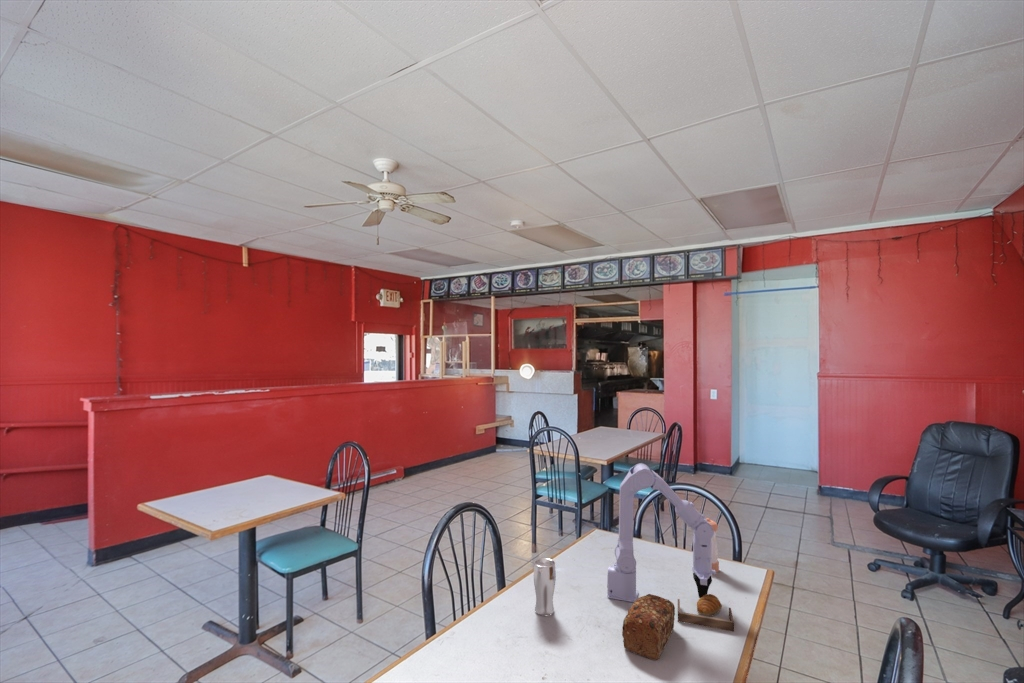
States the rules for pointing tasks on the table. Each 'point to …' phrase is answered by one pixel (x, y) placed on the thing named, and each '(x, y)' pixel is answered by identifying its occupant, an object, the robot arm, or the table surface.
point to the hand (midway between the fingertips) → (702, 597)
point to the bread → (648, 626)
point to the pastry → (708, 605)
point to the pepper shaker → (714, 546)
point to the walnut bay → (706, 620)
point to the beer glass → (544, 585)
